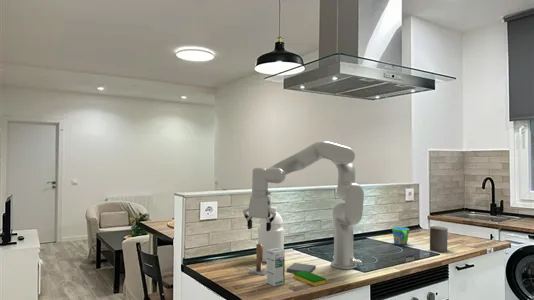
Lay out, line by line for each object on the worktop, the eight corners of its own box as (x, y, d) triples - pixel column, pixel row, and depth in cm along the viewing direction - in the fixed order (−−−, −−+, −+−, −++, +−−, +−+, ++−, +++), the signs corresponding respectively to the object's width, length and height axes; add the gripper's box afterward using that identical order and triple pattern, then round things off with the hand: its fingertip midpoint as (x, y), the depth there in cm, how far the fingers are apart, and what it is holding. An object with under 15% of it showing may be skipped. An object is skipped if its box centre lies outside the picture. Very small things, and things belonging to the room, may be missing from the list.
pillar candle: (426, 250, 218) (427, 225, 218) (434, 247, 224) (434, 223, 224) (443, 253, 210) (443, 227, 210) (450, 250, 217) (450, 225, 217)
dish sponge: (305, 275, 169) (305, 270, 169) (326, 283, 158) (326, 278, 158) (293, 278, 165) (293, 272, 165) (314, 287, 154) (314, 281, 154)
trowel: (269, 271, 173) (269, 244, 173) (264, 275, 167) (264, 246, 168) (254, 269, 176) (254, 242, 176) (248, 273, 171) (249, 244, 171)
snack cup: (413, 247, 224) (413, 230, 225) (396, 246, 225) (396, 230, 225) (404, 241, 240) (404, 226, 240) (388, 241, 240) (388, 225, 241)
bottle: (288, 258, 196) (289, 206, 197) (274, 264, 185) (275, 209, 185) (267, 254, 204) (267, 204, 205) (252, 260, 193) (253, 207, 193)
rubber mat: (315, 268, 178) (315, 265, 178) (308, 274, 168) (308, 271, 168) (294, 265, 183) (294, 262, 183) (286, 271, 173) (286, 268, 173)
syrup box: (274, 286, 153) (274, 252, 153) (266, 282, 157) (266, 249, 158) (284, 284, 156) (285, 250, 156) (276, 280, 161) (276, 247, 161)
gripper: (279, 194, 173) (278, 230, 172) (247, 192, 180) (246, 226, 179) (273, 195, 166) (272, 233, 165) (240, 193, 173) (239, 229, 172)
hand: (259, 229), depth 172 cm, fingers open, 9 cm apart
